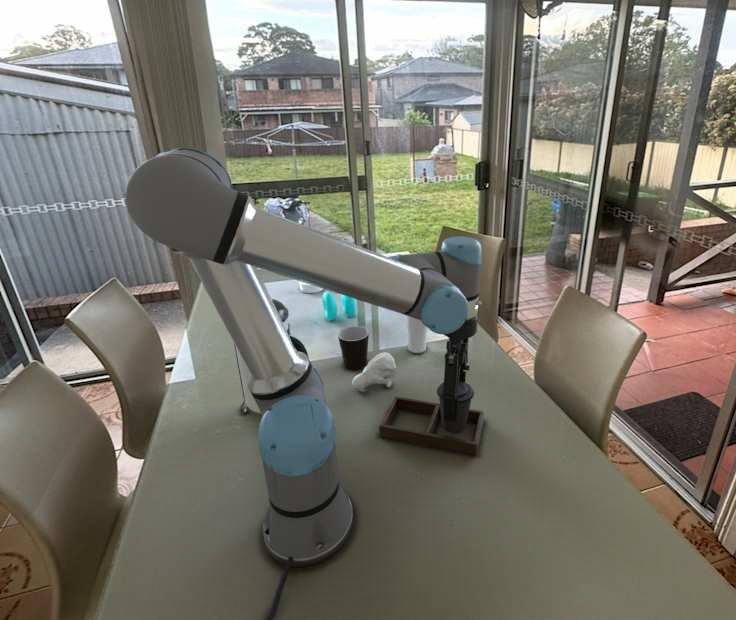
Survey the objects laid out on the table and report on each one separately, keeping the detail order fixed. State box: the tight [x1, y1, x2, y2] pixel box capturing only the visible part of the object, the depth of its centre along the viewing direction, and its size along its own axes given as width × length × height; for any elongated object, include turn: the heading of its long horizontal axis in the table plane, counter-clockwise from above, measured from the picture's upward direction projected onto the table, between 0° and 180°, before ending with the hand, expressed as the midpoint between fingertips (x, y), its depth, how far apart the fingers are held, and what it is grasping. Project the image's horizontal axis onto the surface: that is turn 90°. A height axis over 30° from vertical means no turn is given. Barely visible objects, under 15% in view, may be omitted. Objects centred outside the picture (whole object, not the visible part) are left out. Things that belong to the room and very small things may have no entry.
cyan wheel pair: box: [322, 291, 357, 321], centre depth 152 cm, size 10×10×10 cm
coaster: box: [298, 281, 324, 294], centre depth 178 cm, size 10×10×4 cm
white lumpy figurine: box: [351, 351, 397, 393], centre depth 115 cm, size 6×8×12 cm
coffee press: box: [233, 298, 310, 414], centre depth 103 cm, size 17×16×30 cm
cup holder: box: [379, 395, 485, 457], centre depth 100 cm, size 11×22×3 cm, turn 74°
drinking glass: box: [404, 315, 428, 354], centre depth 131 cm, size 7×7×15 cm
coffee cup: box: [436, 381, 475, 434], centre depth 96 cm, size 8×8×10 cm
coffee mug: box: [337, 325, 370, 371], centre depth 126 cm, size 12×9×10 cm
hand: (454, 407), depth 96 cm, fingers closed on coffee cup, 8 cm apart
